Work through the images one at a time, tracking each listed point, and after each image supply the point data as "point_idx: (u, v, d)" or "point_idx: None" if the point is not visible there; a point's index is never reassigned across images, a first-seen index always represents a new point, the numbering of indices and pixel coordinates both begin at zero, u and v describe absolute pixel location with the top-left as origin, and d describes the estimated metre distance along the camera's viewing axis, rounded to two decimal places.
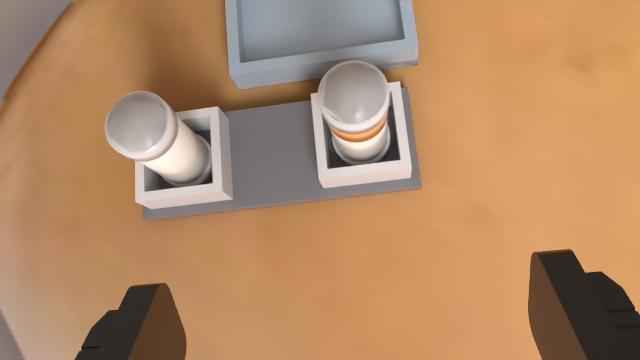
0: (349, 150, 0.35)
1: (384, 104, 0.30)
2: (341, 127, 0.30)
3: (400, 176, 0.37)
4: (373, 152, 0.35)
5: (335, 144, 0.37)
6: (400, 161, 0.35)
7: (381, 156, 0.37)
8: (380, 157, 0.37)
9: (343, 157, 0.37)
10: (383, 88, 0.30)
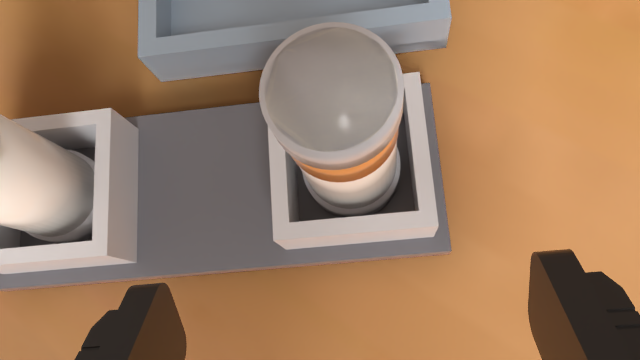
0: (327, 192, 0.19)
1: (393, 112, 0.14)
2: (305, 157, 0.15)
3: (416, 235, 0.21)
4: (370, 195, 0.20)
5: None
6: (419, 213, 0.20)
7: (384, 200, 0.21)
8: (383, 201, 0.21)
9: (319, 200, 0.22)
10: (392, 79, 0.15)
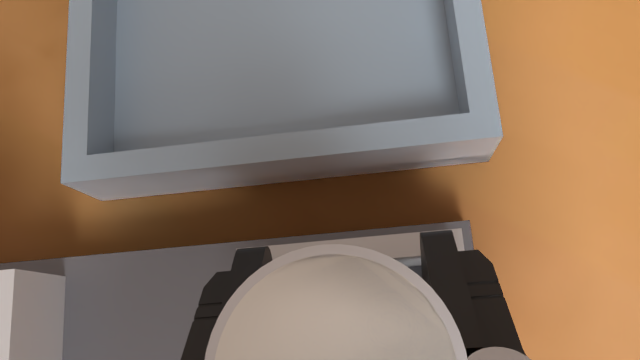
0: None
1: None
2: None
3: None
4: None
5: None
6: None
7: None
8: None
9: None
10: None
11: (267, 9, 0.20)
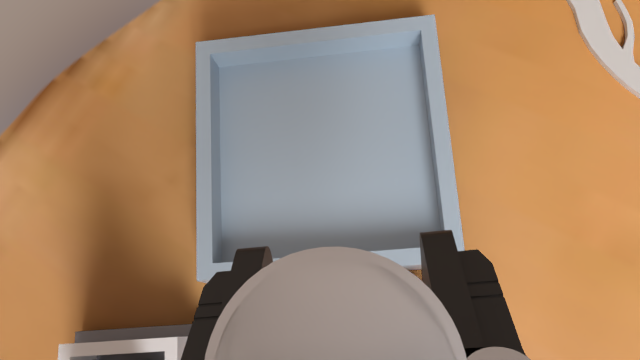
0: None
1: None
2: None
3: None
4: None
5: None
6: None
7: None
8: None
9: None
10: None
11: (319, 162, 0.30)
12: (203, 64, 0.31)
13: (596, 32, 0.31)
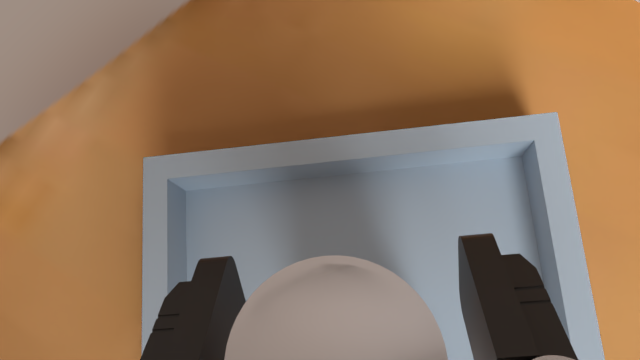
0: None
1: None
2: None
3: None
4: None
5: None
6: None
7: None
8: None
9: None
10: None
11: None
12: (155, 197, 0.18)
13: None
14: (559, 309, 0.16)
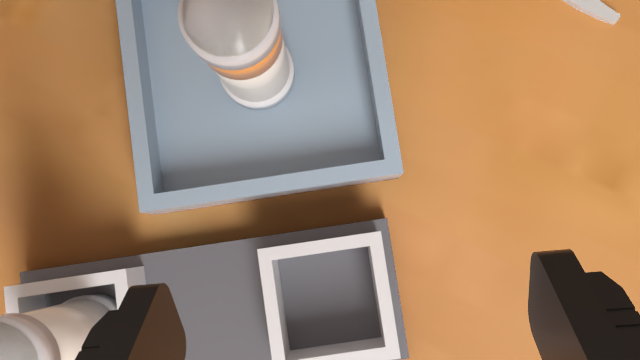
0: (237, 89, 0.26)
1: (271, 28, 0.21)
2: (214, 62, 0.22)
3: None
4: (270, 90, 0.27)
5: None
6: (385, 348, 0.26)
7: (282, 94, 0.29)
8: (281, 95, 0.29)
9: (233, 96, 0.29)
10: (269, 5, 0.21)
11: None
12: None
13: None
14: (363, 35, 0.29)
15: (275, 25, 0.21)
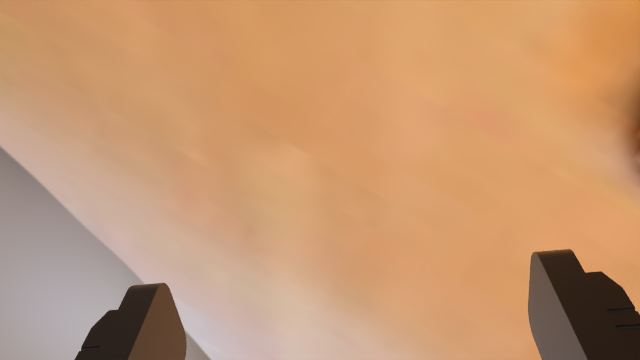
0: None
1: None
2: None
3: None
4: None
5: None
6: None
7: None
8: None
9: None
10: None
11: None
12: None
13: None
14: None
15: None
